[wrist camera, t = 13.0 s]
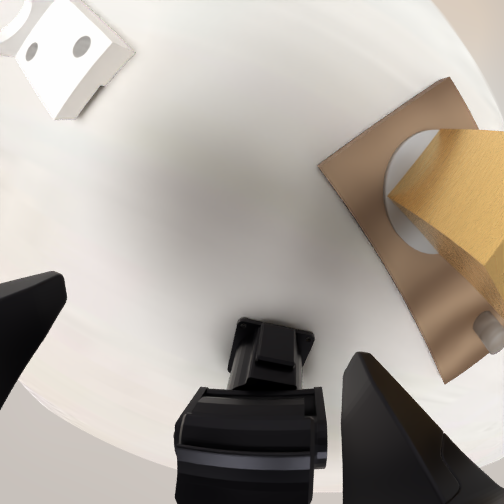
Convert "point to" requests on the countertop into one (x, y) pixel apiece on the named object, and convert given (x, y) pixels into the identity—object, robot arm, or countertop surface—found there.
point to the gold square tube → (461, 205)
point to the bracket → (64, 53)
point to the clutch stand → (406, 233)
